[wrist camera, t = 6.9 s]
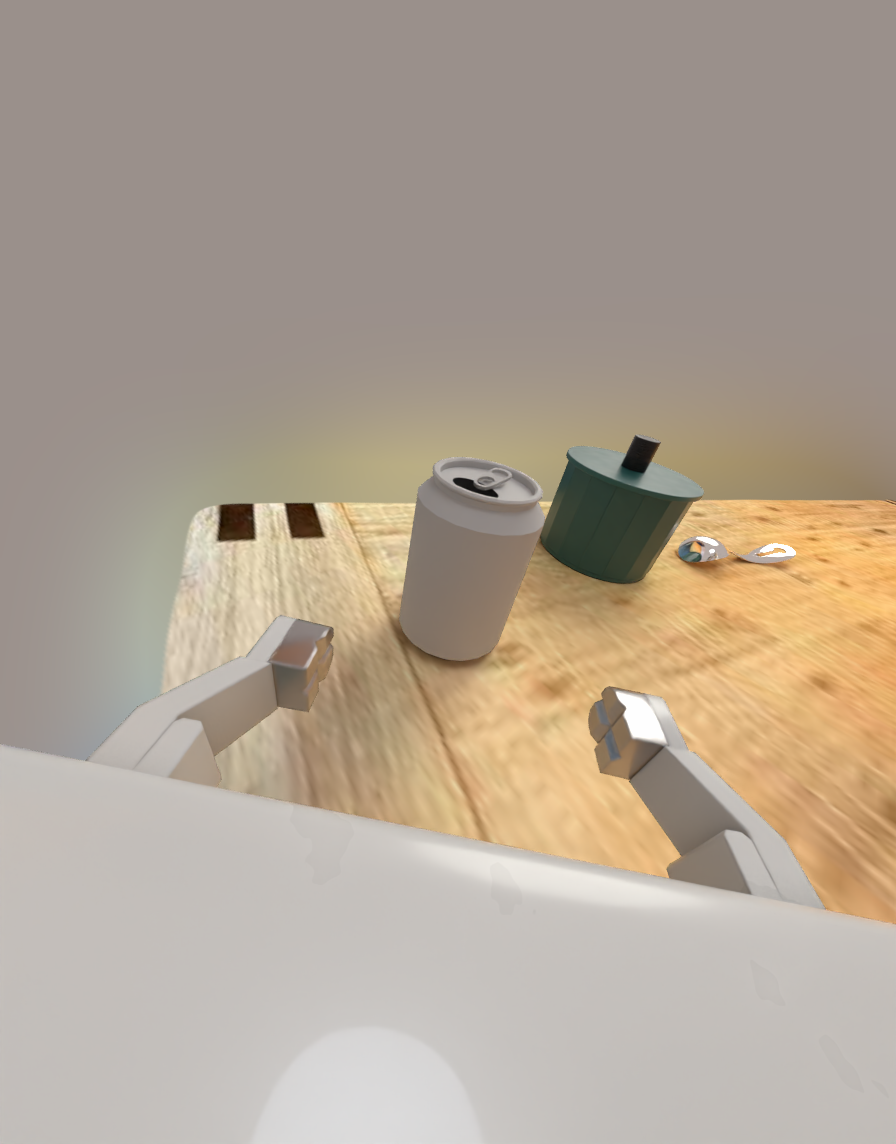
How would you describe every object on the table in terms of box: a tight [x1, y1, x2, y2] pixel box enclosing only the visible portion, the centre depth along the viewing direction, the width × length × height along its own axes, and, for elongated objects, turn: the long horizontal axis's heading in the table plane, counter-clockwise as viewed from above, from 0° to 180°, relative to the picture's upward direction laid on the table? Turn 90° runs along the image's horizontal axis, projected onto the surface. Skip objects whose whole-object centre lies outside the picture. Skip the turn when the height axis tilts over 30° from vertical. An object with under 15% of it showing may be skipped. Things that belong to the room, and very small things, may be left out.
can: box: [399, 457, 545, 661], centre depth 23 cm, size 8×8×12 cm
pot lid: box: [566, 435, 704, 502], centre depth 35 cm, size 13×13×4 cm
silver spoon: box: [678, 536, 796, 563], centre depth 47 cm, size 20×4×5 cm
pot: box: [540, 461, 693, 583], centre depth 39 cm, size 12×12×10 cm
